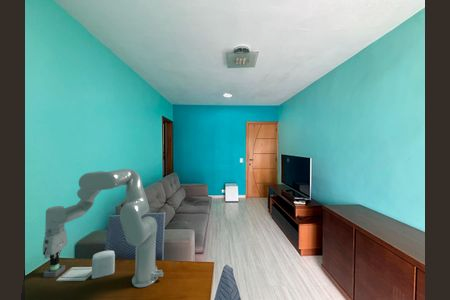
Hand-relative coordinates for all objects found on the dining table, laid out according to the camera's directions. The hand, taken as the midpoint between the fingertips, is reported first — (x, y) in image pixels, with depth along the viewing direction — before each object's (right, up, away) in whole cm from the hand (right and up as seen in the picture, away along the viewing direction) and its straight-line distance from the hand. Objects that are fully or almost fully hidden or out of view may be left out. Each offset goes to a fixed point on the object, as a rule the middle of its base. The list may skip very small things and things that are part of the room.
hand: (54, 264), depth 98 cm
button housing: (0, -5, 0) cm, 5 cm away
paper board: (+13, -5, 0) cm, 14 cm away
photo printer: (+27, -5, -1) cm, 27 cm away
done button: (0, -3, 0) cm, 3 cm away
